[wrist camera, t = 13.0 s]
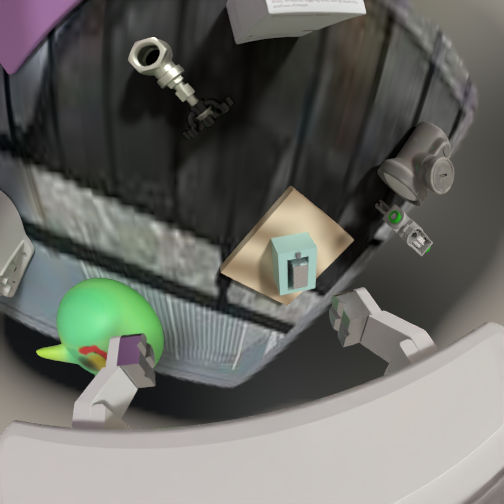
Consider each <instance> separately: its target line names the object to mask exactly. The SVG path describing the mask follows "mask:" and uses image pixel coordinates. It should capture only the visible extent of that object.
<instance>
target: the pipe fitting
mask: <svg viewBox="0 0 504 504" xmlns="http://www.w3.org/2000/svg"><path fill="white" fill-rule="evenodd" d="M450 155H451V146H450V144H449V140H448V138H447V136H446V135H445V133H444V132H443V131H442V130H441V129H440V128H439V127H438V126H436V125H434V124H432V123H429V122H420V123H419V124H418V125H417V127H416V128H415V130H414V131H413V133H412V134H411V136H410V137H409V139H408V140H407V142H406V143H405V145H404V146H403V148H402V149H401V151H400V152H399V154H398V155H397V156H396V158H393V159H388V160H385V161H384V162H383V163H382V165H381V166H380V167H379V169H378V170H377V173H378V175H379V176H380V178H381V179H382V180H383V181H384V182H385V183H386V184H387V185H388V186H389V187H390V188H391V189H392V190H393V191H394V192H396V193H397V194H398V195H399V196H401V197H402V198H403V199H405V200H406V201H408V202H410V203H412V204H414V205H416V206H421V204H422V203H423V201H424V200H425V198H426V197H427V188H429V189H430V190H431V191H432V192H435V193H437V194H444V193H446V192H447V191H448V190H449V189H450V187H451V185H452V183H453V179H454V168H453V165H452V163H451V161H450V160H449V157H450Z"/></svg>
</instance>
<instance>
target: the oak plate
mask: <svg viewBox="0 0 504 504" xmlns="http://www.w3.org/2000/svg"><path fill="white" fill-rule="evenodd" d="M304 232H308V233H309V235H310V237H311V238H312V240H313V241H314V243H315V244H316V246H317V265H316V278H317V277H318V276H319V275H320V274H321V273H322V272H323V271H324V270H325V269H326V268H327V267H328V266H329V265H330V264H331V263H332V262H333V261H334V260H335V259H336V258H337V257H338V256H339V255H340V254H341V253H342V252H343V251H344V250H345V249H346V248H347V247H348V246H349V245H350V244H351V243H352V242H353V241H354V239H353V238H352V237H351V235H350V234H348V233H347V232H346V231H345V230H344V229H343V228H341V227H340V226H339V225H338V224H337V223H336V222H334V221H333V220H332V219H331V218H330V217H329V216H327V215H326V214H325V213H324V212H323V211H321V210H320V209H319V208H318V207H317V206H315V205H314V204H313V203H312V202H310V201H309V200H308V199H307V198H306V197H304V196H303V195H302V194H301V193H299V192H298V191H297V190H296V189H294V188H293V187H292V186H289V187H288V189H287V190H286V191H285V192H284V193H283V194H282V195H281V197H280V198H279V199H278V200H277V201H276V202H275V203H274V205H273V206H272V207H271V208H270V209H269V210H268V211H267V213H266V214H265V215H264V216H263V217H262V218H261V220H260V221H259V222H258V223H257V224H256V225H255V226H254V228H253V229H252V230H251V231H250V232H249V233H248V235H247V236H246V237H245V238H244V239H243V240H242V242H241V243H240V244H239V245H238V246H237V247H236V248H235V250H234V251H233V252H232V253H231V254H230V255H229V257H228V258H227V259H226V260H225V261H224V262H223V264H222V265H221V266H220V271H221V273H222V274H224V275H226V276H228V277H230V278H232V279H234V280H236V281H238V282H240V283H242V284H244V285H246V286H248V287H250V288H252V289H254V290H256V291H258V292H260V293H262V294H264V295H266V296H268V297H270V298H272V299H275V300H277V301H279V302H281V303H283V304H285V305H288V304H290V303H291V302H292V301H293V300H294V299H295V298H296V297H297V296H298V295H299V294H300V293H301V292H302V291H299V292H295V293H290V294H285V295H280V294H279V291H278V288H277V286H276V283H275V280H274V274H273V260H272V245H271V238H276V237H281V236H287V235H293V234H298V233H304Z"/></svg>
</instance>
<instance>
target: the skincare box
mask: <svg viewBox="0 0 504 504" xmlns="http://www.w3.org/2000/svg"><path fill="white" fill-rule="evenodd" d="M226 7H227V11H228V15H229V19H230V23H231V27H232V31H233V35H234V39H235V43H236V44H242V43H245V42H250V41H255V40H261V39H269V38H279V37H299V36H303V35H305V34H308V33H310V32H313V31H315V30H318V29H321V28H323V27H326V26H329V25H332V24H335V23H337V22H340V21H343V20H346V19H349V18H353V17H356V16H360V15H364V14H366V10H365V6H364V2H363V0H228V2H227V4H226Z"/></svg>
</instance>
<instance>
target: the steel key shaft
mask: <svg viewBox="0 0 504 504" xmlns="http://www.w3.org/2000/svg"><path fill="white" fill-rule="evenodd" d="M287 270H288V277H289V279H290V282H291V284H292V286H293V289H298V288H302V287H307V281H308V263H307V261H306V260H305V258H304V257H302V258H298V259H292V260H287Z"/></svg>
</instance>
